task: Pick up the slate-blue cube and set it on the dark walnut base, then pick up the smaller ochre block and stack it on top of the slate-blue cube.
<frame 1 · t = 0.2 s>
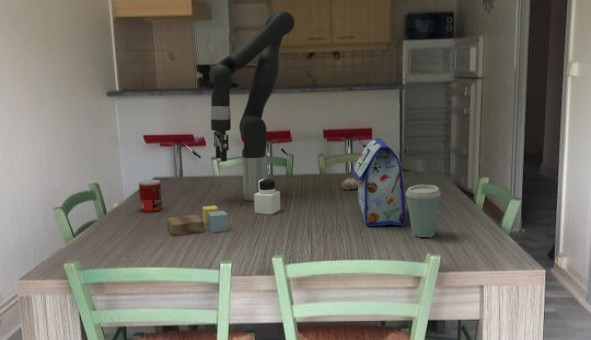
hand: (221, 159, 219), 17 cm above the table, tool pointing down, fingers open, 8 cm apart
ochre block: (210, 221, 196), on the table
walnut base: (185, 229, 186), on the table
disposable coffee cup: (422, 235, 174), on the table
medicine bottle: (267, 212, 207), on the table
garlic bulb: (350, 189, 242), on the table
canned food: (151, 210, 214), on the table
slate cube: (218, 229, 186), on the table
lunch bag: (379, 218, 194), on the table
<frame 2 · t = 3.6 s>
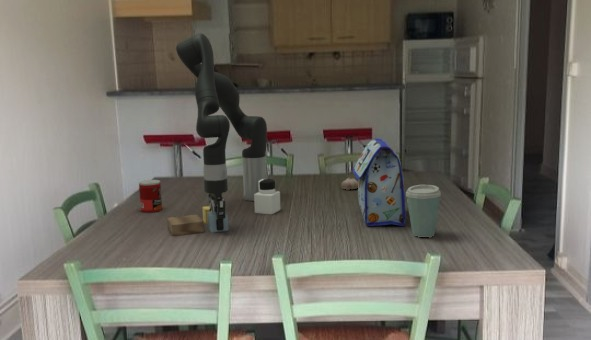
hand: (218, 227, 185), 1 cm above the table, tool pointing down, fingers closed on slate cube, 5 cm apart
slate cube: (218, 229, 186), on the table, touching gripper
everything else where it was.
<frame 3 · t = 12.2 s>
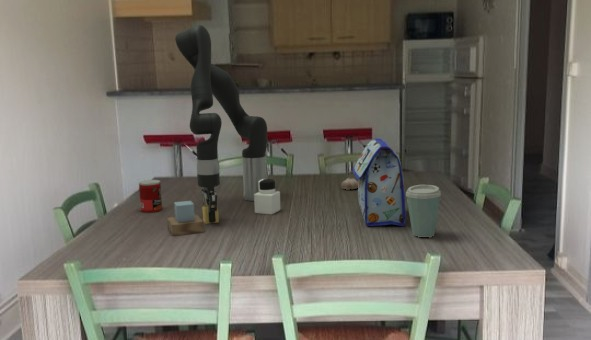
hand: (210, 220, 196), 0 cm above the table, tool pointing down, fingers closed on ochre block, 4 cm apart
ochre block: (210, 221, 196), on the table, touching gripper
slate cube: (184, 219, 185), point 3 cm above the table, touching walnut base
everything else where it was.
when the fingers open (11 cm above the table, at t = 16.1 s): ochre block drops 1 cm, resting on slate cube.
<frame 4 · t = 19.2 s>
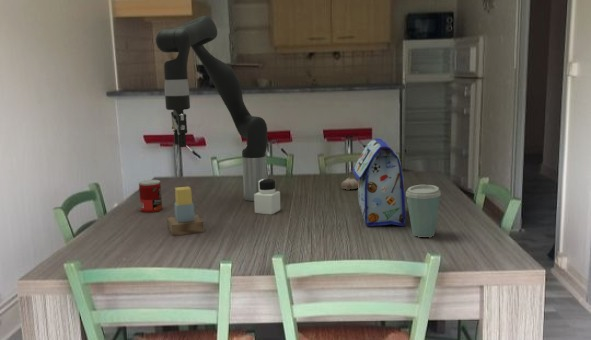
hand: (180, 145, 181), 28 cm above the table, tool pointing down, fingers open, 8 cm apart
ochre block: (183, 203, 184), point 9 cm above the table, touching slate cube
slate cube: (184, 219, 185), point 3 cm above the table, touching ochre block, walnut base
everything else where it was.
at the end: slate cube 0.1 cm off-centre on the walnut base, point 3.5 cm above the walnut base's base; ochre block 0.1 cm from the slate cube (horizontally); ochre block point 9.0 cm above the table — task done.
